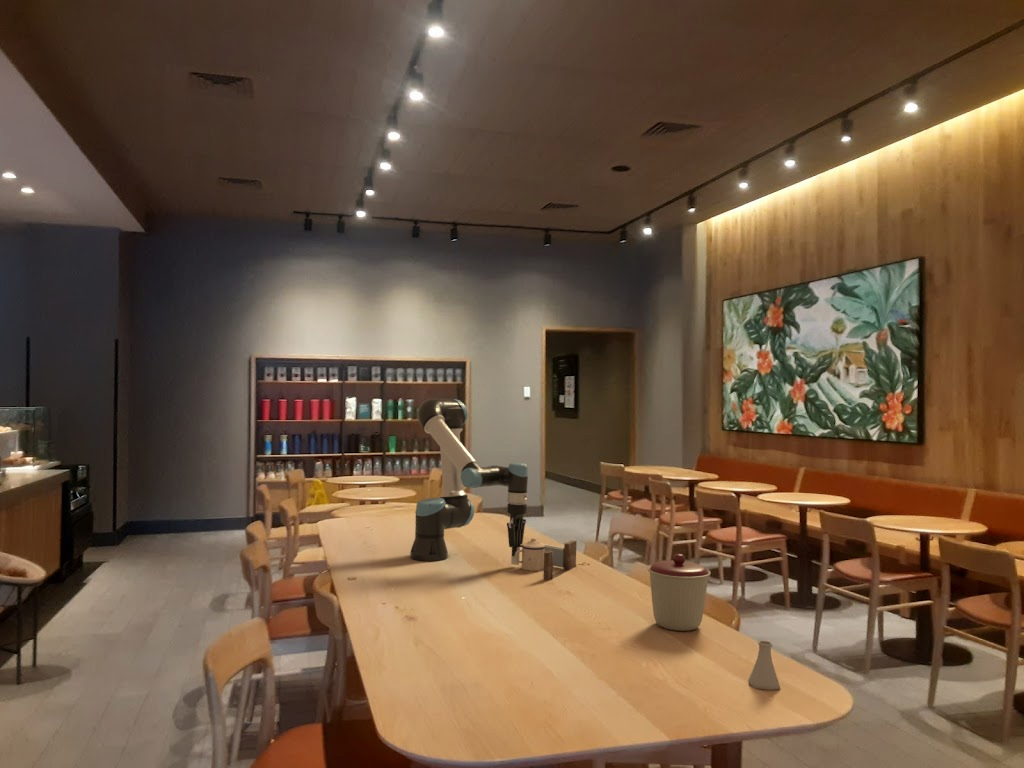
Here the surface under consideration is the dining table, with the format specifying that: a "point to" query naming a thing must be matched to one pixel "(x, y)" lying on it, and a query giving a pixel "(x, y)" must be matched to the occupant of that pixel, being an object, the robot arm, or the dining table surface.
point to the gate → (556, 554)
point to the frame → (568, 561)
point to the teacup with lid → (532, 555)
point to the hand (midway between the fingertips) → (515, 564)
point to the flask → (764, 669)
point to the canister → (678, 593)
